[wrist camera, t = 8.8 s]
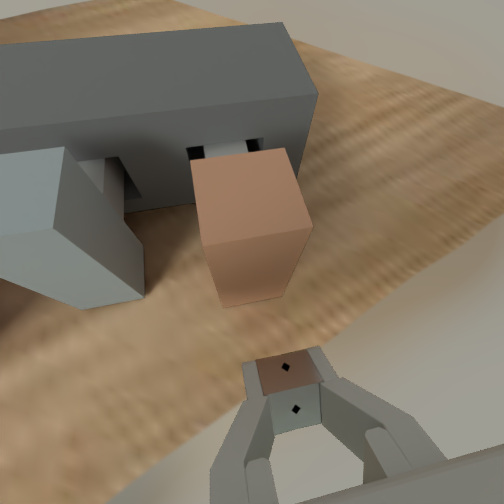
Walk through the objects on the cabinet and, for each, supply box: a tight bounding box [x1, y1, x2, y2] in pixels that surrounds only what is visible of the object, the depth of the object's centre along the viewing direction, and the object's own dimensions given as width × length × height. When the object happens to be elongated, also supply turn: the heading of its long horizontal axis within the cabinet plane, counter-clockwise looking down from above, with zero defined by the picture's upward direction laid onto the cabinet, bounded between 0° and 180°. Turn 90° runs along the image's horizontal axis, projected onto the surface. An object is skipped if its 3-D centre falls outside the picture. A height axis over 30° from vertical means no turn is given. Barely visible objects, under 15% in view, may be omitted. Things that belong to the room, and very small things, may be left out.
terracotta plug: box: [190, 140, 313, 308], centre depth 15 cm, size 4×10×9 cm, turn 12°
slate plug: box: [0, 147, 145, 310], centre depth 15 cm, size 4×10×9 cm, turn 12°
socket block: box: [0, 22, 319, 214], centre depth 19 cm, size 20×8×8 cm, turn 102°
